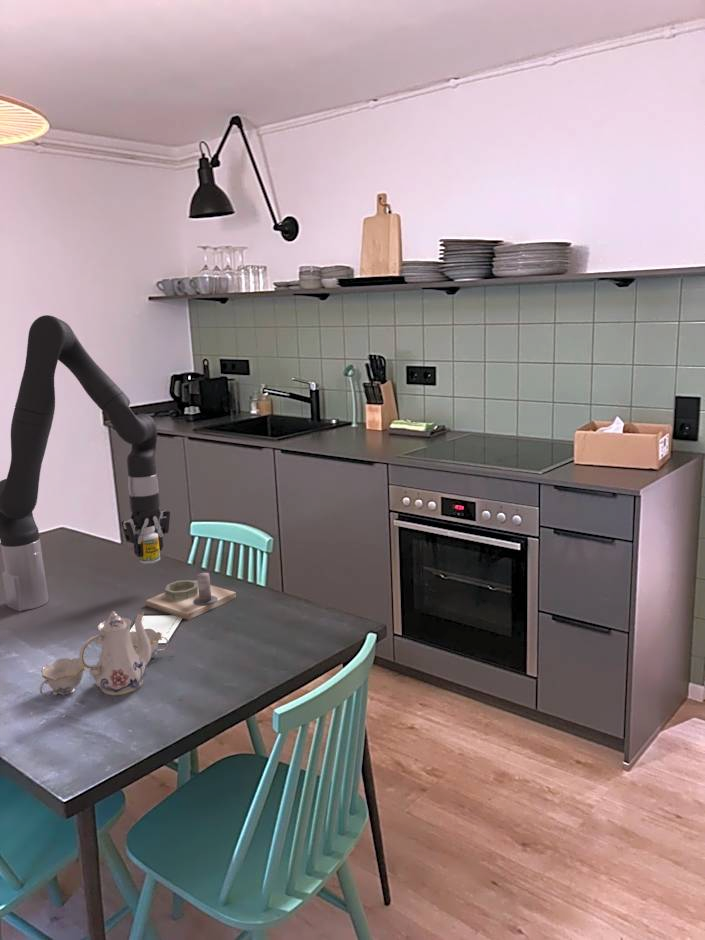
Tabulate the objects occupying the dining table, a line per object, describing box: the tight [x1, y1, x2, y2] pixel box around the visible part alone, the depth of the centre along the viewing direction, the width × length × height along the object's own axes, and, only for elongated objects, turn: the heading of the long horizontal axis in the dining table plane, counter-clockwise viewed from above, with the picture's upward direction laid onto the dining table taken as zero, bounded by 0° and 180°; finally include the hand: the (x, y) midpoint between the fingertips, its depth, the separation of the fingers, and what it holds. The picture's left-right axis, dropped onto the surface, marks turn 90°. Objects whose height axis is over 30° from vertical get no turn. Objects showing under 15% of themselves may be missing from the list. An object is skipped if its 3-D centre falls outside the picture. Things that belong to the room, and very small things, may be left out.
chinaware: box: [39, 611, 169, 697], centre depth 157 cm, size 28×17×17 cm, turn 141°
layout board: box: [146, 572, 237, 621], centre depth 195 cm, size 16×16×8 cm
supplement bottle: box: [138, 525, 161, 564], centre depth 202 cm, size 5×5×10 cm
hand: (149, 553), depth 202 cm, fingers closed on supplement bottle, 5 cm apart
